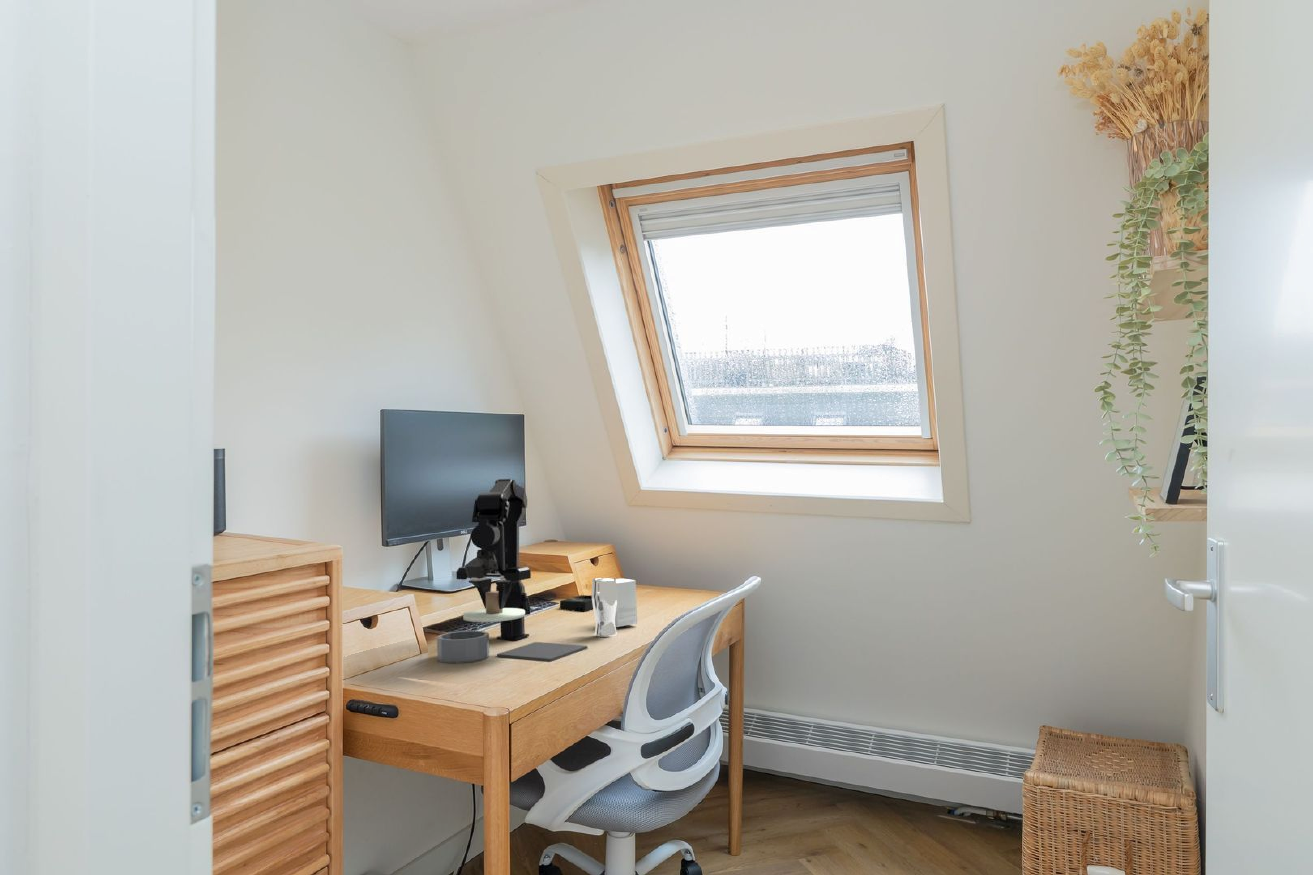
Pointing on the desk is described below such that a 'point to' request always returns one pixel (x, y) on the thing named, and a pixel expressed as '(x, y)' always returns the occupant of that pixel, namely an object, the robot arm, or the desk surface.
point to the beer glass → (604, 606)
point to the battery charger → (577, 603)
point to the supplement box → (626, 603)
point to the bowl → (463, 646)
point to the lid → (493, 611)
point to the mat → (542, 651)
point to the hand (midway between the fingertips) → (494, 608)
